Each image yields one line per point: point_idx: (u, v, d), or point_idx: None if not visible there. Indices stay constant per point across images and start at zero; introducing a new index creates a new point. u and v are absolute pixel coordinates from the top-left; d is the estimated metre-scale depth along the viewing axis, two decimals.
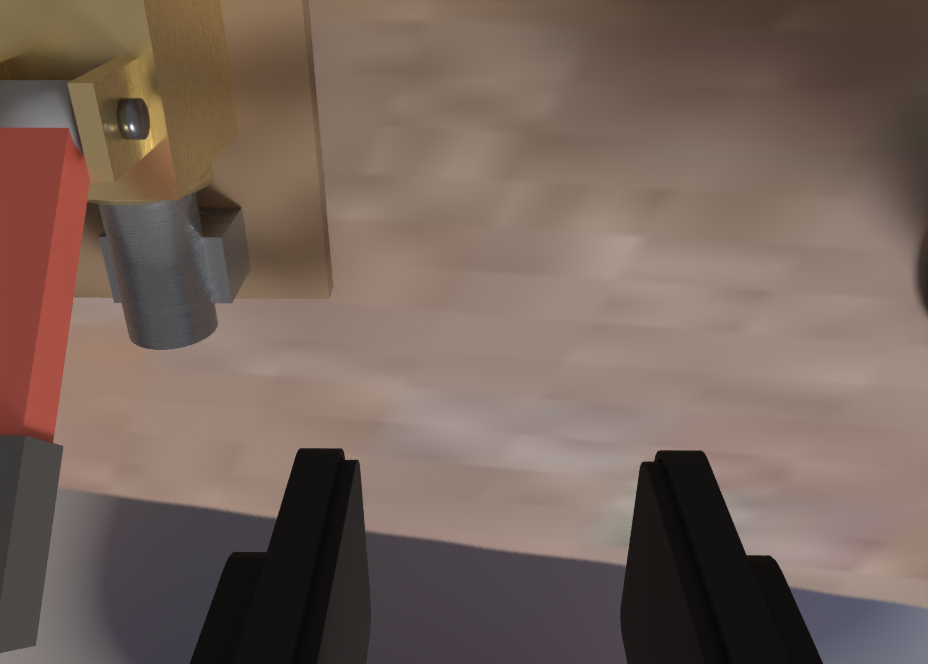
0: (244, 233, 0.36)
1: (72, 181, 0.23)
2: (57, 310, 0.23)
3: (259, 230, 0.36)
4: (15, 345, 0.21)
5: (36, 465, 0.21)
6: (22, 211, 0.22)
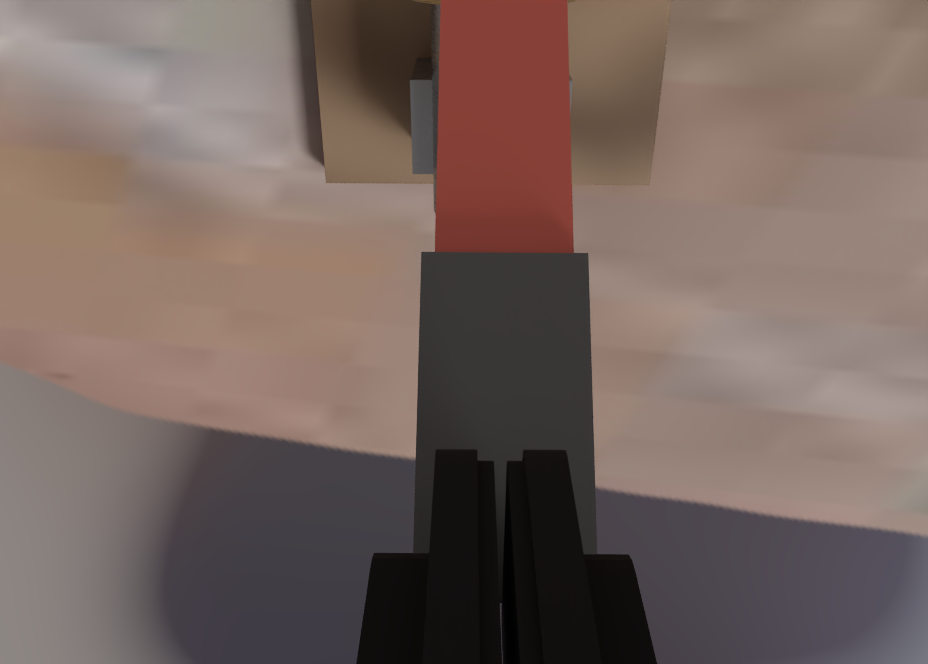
0: None
1: None
2: None
3: (579, 91, 0.28)
4: (538, 120, 0.13)
5: None
6: None
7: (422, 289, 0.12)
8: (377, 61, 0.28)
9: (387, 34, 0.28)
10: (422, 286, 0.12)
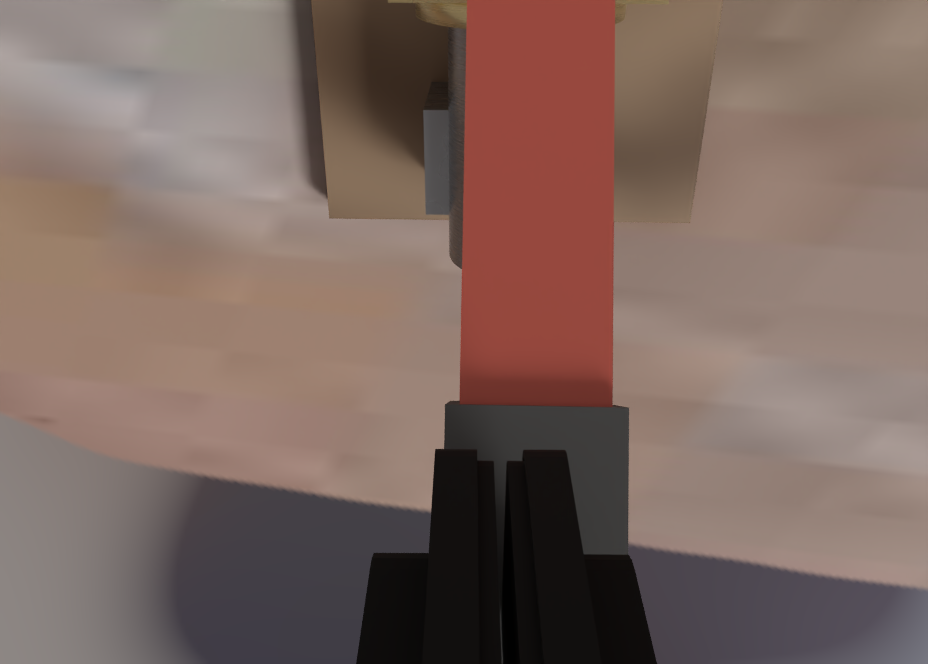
0: None
1: None
2: None
3: None
4: (576, 240, 0.12)
5: None
6: None
7: (446, 448, 0.11)
8: (387, 85, 0.25)
9: (398, 55, 0.24)
10: (446, 445, 0.11)
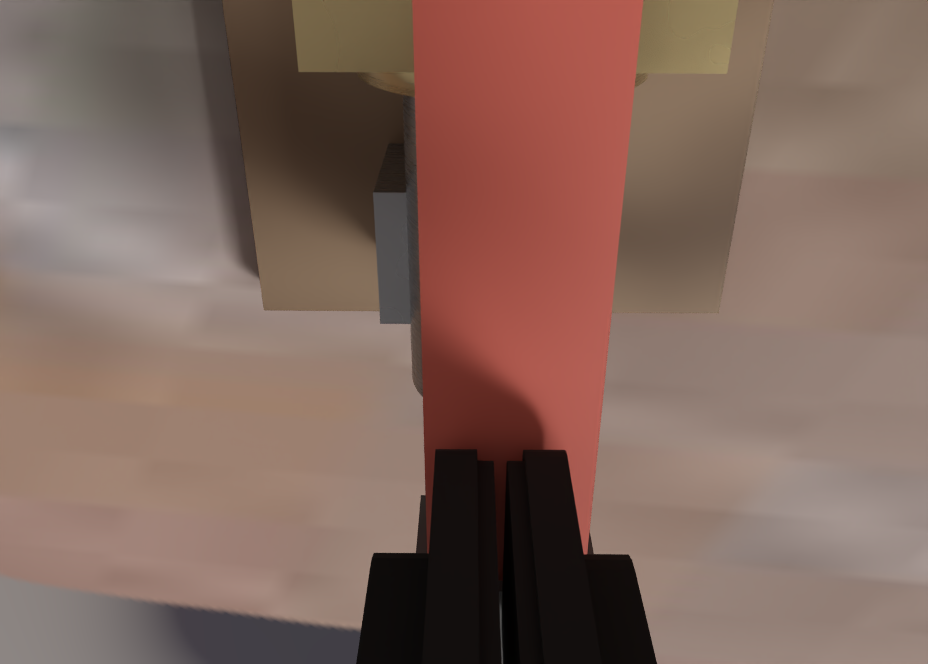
0: None
1: None
2: None
3: None
4: (556, 442, 0.10)
5: None
6: (538, 141, 0.08)
7: None
8: (331, 148, 0.19)
9: (344, 110, 0.19)
10: None
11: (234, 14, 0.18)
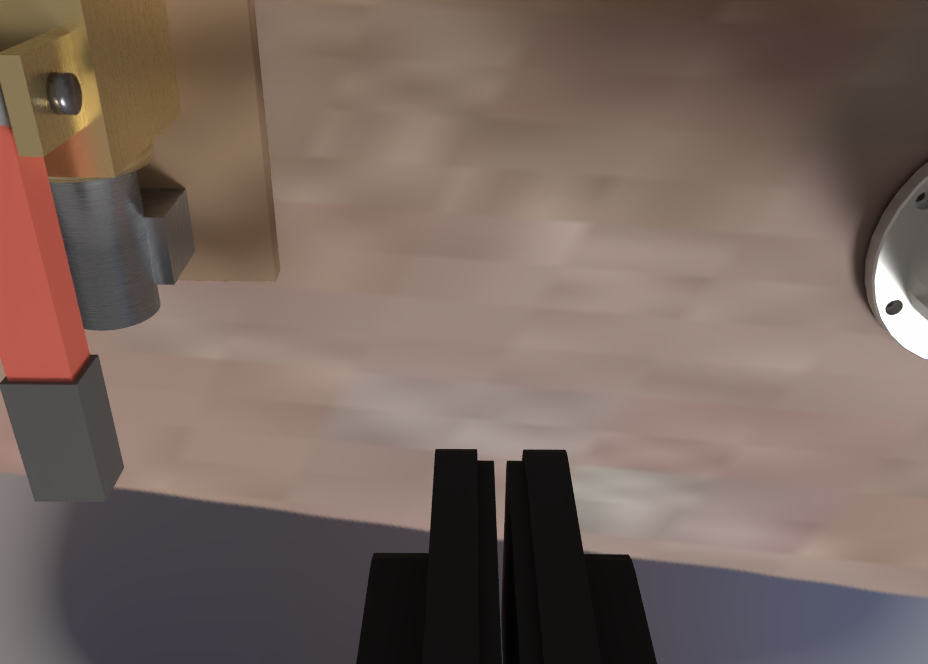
0: (188, 214, 0.36)
1: (29, 165, 0.25)
2: (59, 275, 0.27)
3: (204, 212, 0.36)
4: (40, 320, 0.27)
5: (88, 389, 0.29)
6: None
7: (4, 399, 0.28)
8: None
9: None
10: (4, 398, 0.28)
11: None
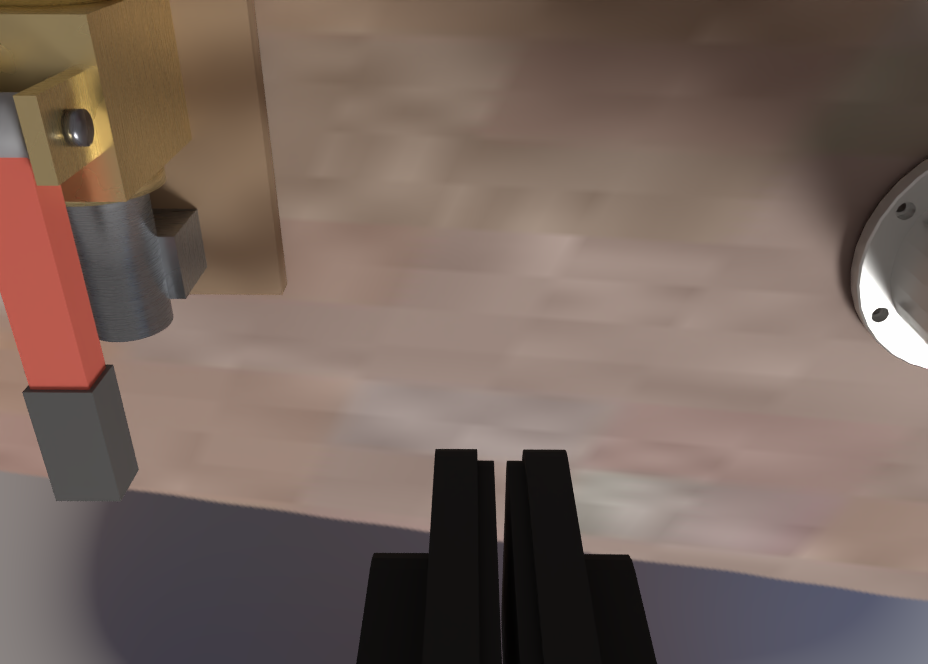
0: (200, 233, 0.38)
1: (47, 192, 0.27)
2: (75, 292, 0.29)
3: (214, 230, 0.39)
4: (59, 333, 0.29)
5: (103, 397, 0.31)
6: (20, 233, 0.27)
7: (27, 406, 0.30)
8: None
9: None
10: (27, 405, 0.30)
11: None
